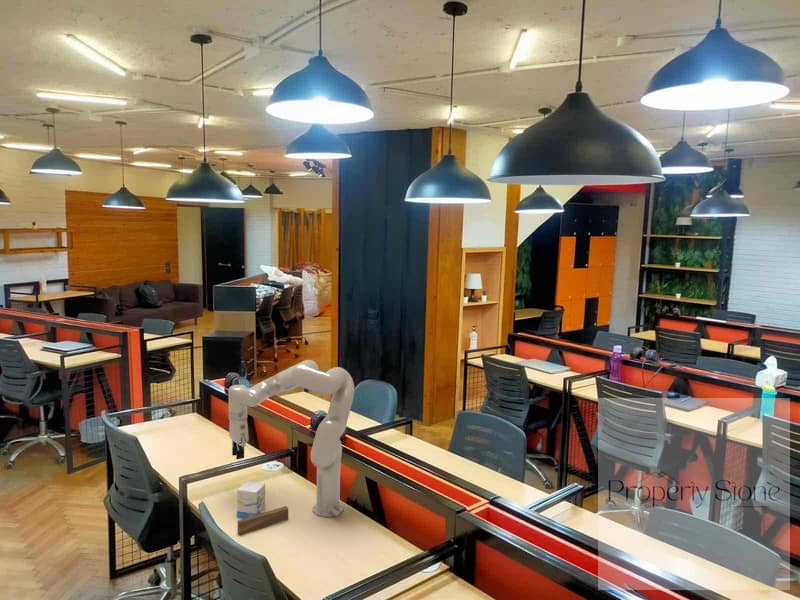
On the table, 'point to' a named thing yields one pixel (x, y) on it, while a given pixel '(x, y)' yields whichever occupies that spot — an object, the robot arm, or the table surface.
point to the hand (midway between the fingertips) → (238, 456)
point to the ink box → (250, 499)
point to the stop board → (262, 520)
